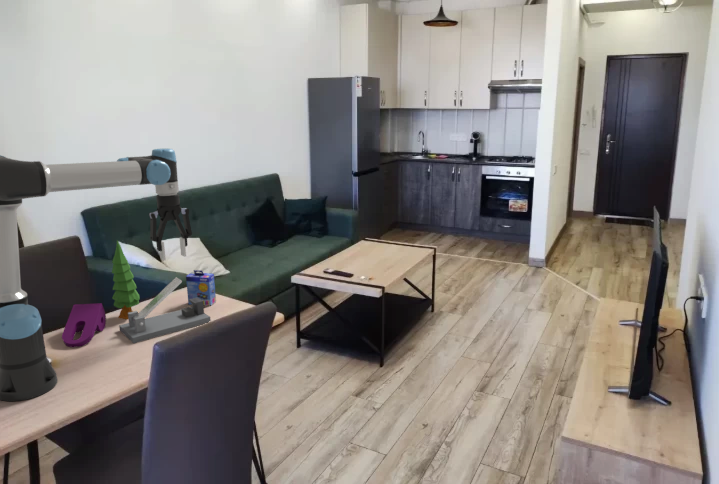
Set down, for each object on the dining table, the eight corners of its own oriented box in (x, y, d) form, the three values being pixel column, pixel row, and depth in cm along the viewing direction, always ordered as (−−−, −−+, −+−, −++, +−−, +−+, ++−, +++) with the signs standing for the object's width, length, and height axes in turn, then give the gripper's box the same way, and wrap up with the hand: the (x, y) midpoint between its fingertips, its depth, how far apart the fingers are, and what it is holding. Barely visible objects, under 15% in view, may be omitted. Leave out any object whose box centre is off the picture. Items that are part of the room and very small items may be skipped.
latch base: (133, 343, 183) (131, 324, 181) (119, 330, 193) (117, 312, 191) (210, 321, 200) (209, 304, 198) (194, 311, 210) (193, 294, 209)
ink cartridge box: (187, 305, 217) (184, 270, 213) (193, 300, 222) (190, 266, 218) (211, 306, 215) (208, 271, 212) (216, 301, 221) (214, 267, 217)
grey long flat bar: (138, 325, 188) (134, 322, 187) (134, 322, 191) (130, 319, 190) (183, 282, 195) (179, 279, 194) (178, 279, 198) (175, 276, 197)
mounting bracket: (94, 358, 185) (107, 319, 198) (88, 343, 179) (101, 303, 193) (65, 360, 184) (80, 320, 197) (57, 344, 178) (73, 304, 192)
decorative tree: (123, 311, 210) (114, 236, 203) (147, 311, 210) (138, 236, 202) (111, 321, 201) (101, 243, 193) (135, 321, 200) (127, 243, 193)
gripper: (142, 198, 179) (149, 265, 184) (199, 192, 191) (204, 254, 197) (134, 195, 184) (141, 260, 190) (190, 189, 197) (195, 250, 202)
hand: (173, 257), depth 193 cm, fingers open, 7 cm apart
